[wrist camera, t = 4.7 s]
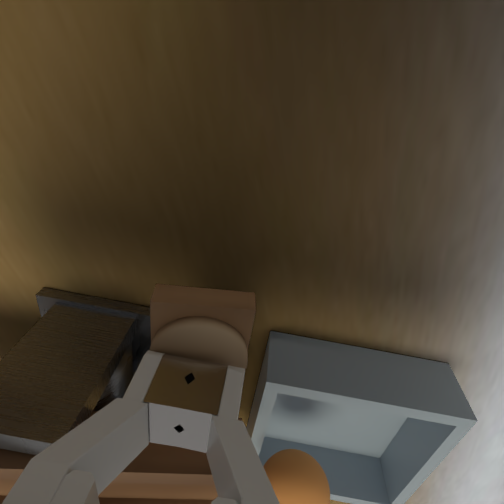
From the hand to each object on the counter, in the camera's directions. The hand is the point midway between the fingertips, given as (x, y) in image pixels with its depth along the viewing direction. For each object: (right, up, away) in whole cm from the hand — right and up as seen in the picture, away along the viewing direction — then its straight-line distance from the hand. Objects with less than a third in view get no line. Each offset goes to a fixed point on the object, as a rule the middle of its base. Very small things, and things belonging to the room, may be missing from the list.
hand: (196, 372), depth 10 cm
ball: (+4, -7, +5) cm, 9 cm away
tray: (+6, -5, +9) cm, 12 cm away
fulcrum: (-6, -3, +9) cm, 11 cm away
